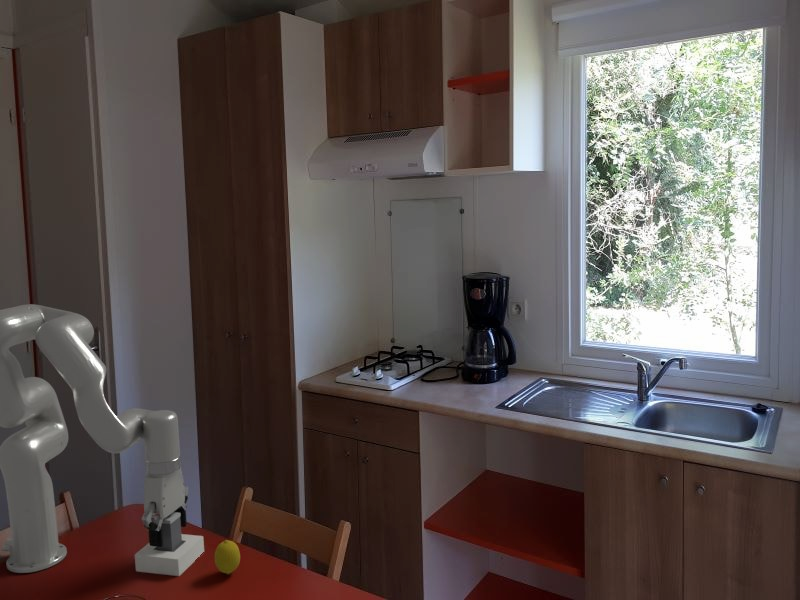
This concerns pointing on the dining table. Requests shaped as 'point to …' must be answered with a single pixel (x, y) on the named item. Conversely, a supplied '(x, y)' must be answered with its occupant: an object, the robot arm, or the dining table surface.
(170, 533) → the plug
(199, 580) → the dining table surface
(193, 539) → the socket
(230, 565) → the lemon
